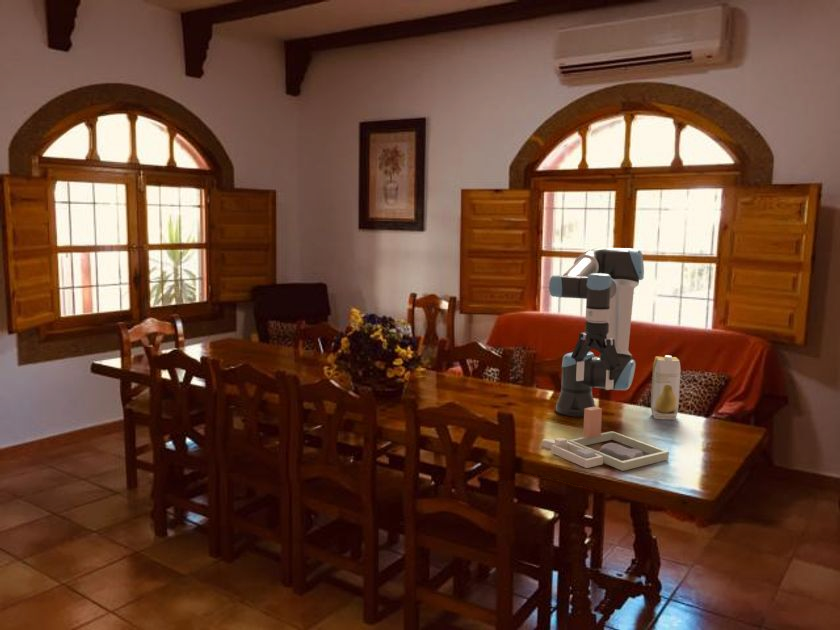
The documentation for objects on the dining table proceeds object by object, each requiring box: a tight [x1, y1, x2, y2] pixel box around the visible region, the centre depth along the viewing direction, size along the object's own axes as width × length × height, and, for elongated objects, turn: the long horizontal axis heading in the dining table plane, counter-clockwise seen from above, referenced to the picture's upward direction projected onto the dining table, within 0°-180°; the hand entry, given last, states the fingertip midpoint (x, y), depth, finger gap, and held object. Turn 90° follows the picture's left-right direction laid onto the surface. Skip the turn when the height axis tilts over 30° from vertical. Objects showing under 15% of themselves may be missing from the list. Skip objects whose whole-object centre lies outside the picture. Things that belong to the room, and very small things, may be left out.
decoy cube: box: [576, 448, 595, 459], centre depth 223 cm, size 4×4×4 cm
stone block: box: [599, 442, 644, 461], centre depth 228 cm, size 12×5×10 cm
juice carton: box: [650, 354, 682, 421], centre depth 271 cm, size 9×8×24 cm
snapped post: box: [541, 438, 555, 449], centre depth 238 cm, size 5×2×2 cm, turn 47°
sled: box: [551, 437, 604, 469], centre depth 227 cm, size 17×7×4 cm, turn 31°
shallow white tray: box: [567, 405, 670, 472], centre depth 231 cm, size 25×20×12 cm
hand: (594, 384), depth 238 cm, fingers open, 13 cm apart
